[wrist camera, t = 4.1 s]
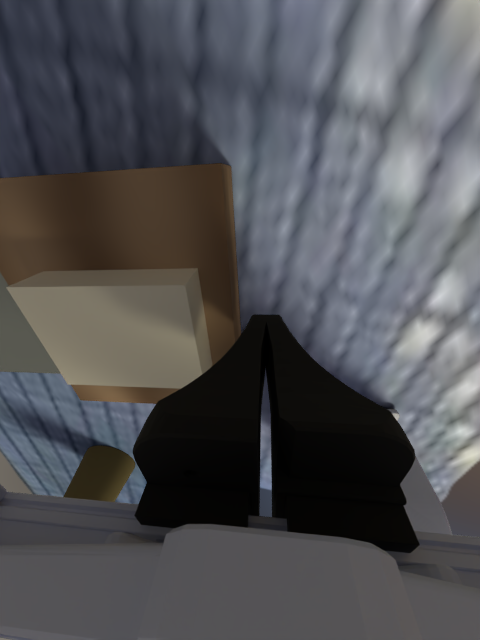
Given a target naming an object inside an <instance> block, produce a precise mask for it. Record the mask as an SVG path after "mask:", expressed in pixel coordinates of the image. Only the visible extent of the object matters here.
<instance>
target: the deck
mask: <svg viewBox="0 0 480 640" xmlns="http://www.w3.org/2000/svg"><path fill="white" fill-rule="evenodd" d="M184 268H198V274H199V281H200V287H201V294H202V300H203V307H204V313H205V320H206V326H207V333H208V339H209V346H210V352H211V359H212V366H213V365H214V364H215V363H216V362H218V361H219V360H220V359H221V358H222V357H223V356H224V355H225V354H226V353H227V351H228V350H229V349H230V348H231V347H232V346H233V344H234V343H235V342H236V341H237V339H238V338H239V337H240V335H241V324H240V308H239V291H238V274H237V258H236V241H235V224H234V208H233V191H232V174H231V166H228V165H225V164H222V163H216V164H201V165H186V166H172V167H157V168H142V169H128V170H113V171H98V172H84V173H69V174H55V175H40V176H25V177H11V178H0V273H1V274H2V276H3V277H4V279H5V281H6V282H7V284H8V285H9V286H10V285H13V284H15V283H17V282H20V281H22V280H24V279H27V278H29V277H31V276H34V275H36V274H38V273H41V272H43V271H80V270H132V269H184ZM212 366H211V367H212ZM71 386H72V387H73V389H74V390H75V392H76V393H77V395H78V397H79V398H80V400H87V401H109V402H131V403H153V404H157V402H158V401H159V400H161V399H163V398H165V397H167V396H169V395H170V394H172V393H174V392H176V391H178V390H179V389H177V388H151V387H124V386H98V385H72V384H71Z"/></svg>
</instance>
